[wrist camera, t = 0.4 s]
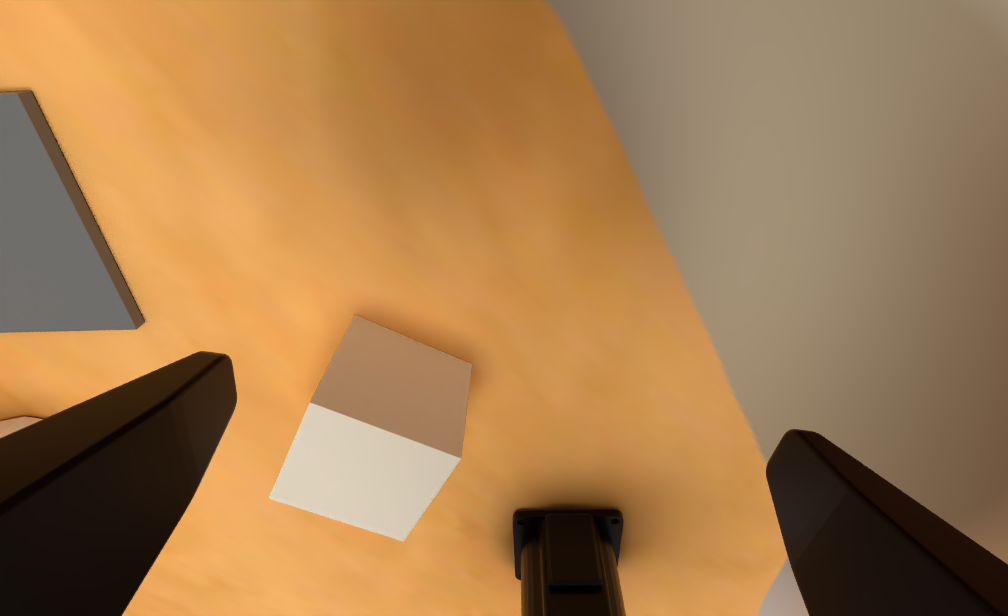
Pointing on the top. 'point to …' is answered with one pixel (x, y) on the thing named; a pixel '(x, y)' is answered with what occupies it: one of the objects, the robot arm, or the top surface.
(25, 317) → the coaster
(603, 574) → the robot arm
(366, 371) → the cube
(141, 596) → the top surface
